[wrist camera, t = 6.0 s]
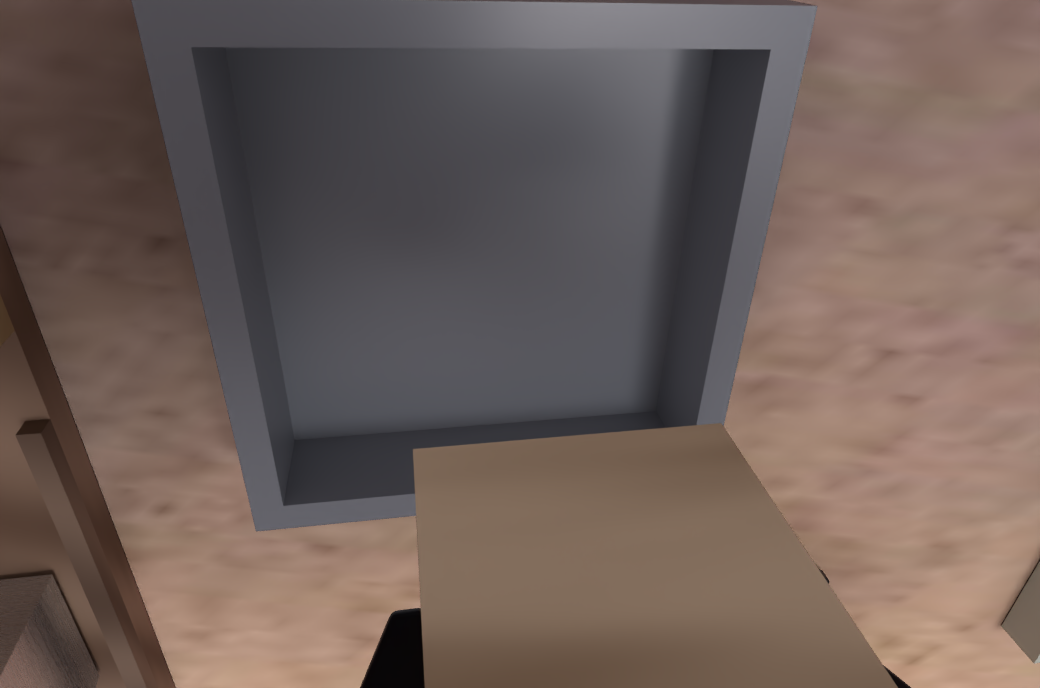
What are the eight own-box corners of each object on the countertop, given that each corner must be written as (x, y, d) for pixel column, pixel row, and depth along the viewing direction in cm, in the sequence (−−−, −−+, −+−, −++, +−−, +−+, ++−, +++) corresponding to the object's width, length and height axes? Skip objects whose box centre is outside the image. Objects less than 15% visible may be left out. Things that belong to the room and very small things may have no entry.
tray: (668, 414, 23) (709, 486, 20) (274, 446, 21) (255, 531, 18) (740, -10, 17) (817, 5, 14) (181, -20, 15) (130, -4, 12)
